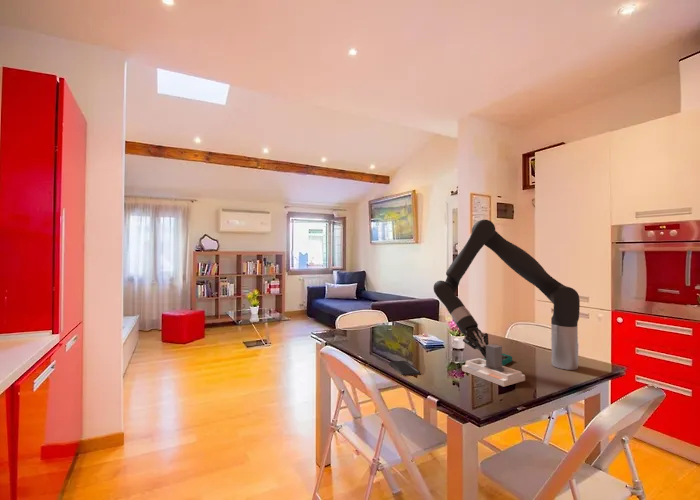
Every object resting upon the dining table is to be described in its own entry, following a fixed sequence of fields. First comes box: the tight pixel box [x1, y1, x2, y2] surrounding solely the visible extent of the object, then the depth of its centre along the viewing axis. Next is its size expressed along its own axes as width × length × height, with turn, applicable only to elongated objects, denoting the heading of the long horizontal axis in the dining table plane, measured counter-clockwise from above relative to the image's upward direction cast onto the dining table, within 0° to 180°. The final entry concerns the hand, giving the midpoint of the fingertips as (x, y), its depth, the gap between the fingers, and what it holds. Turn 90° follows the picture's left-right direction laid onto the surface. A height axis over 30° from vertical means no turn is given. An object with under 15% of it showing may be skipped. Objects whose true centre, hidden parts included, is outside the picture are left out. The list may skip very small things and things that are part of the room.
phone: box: [388, 360, 421, 377], centre depth 138 cm, size 8×1×15 cm
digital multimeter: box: [483, 353, 513, 366], centre depth 146 cm, size 7×15×3 cm, turn 134°
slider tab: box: [484, 343, 504, 372], centre depth 130 cm, size 5×5×9 cm
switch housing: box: [461, 357, 526, 387], centre depth 131 cm, size 12×19×4 cm, turn 29°
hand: (488, 356), depth 132 cm, fingers closed
